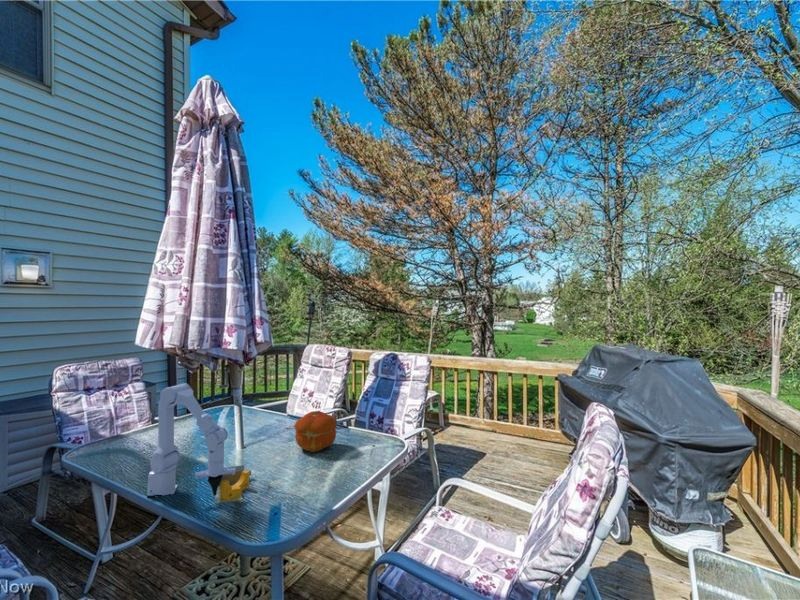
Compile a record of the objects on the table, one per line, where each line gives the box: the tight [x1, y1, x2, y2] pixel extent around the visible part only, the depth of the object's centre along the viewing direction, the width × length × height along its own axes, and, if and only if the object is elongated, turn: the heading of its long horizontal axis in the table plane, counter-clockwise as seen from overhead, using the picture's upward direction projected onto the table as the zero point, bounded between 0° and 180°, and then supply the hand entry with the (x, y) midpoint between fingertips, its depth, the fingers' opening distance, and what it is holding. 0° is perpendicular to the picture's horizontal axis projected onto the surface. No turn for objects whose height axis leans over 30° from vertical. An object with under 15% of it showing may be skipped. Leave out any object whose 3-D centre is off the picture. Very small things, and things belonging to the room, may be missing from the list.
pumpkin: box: [294, 410, 338, 453], centre depth 207 cm, size 23×23×20 cm
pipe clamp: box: [220, 469, 251, 500], centre depth 156 cm, size 12×4×6 cm, turn 152°
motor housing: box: [213, 465, 252, 505], centre depth 160 cm, size 13×22×5 cm, turn 20°
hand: (215, 494), depth 152 cm, fingers closed
